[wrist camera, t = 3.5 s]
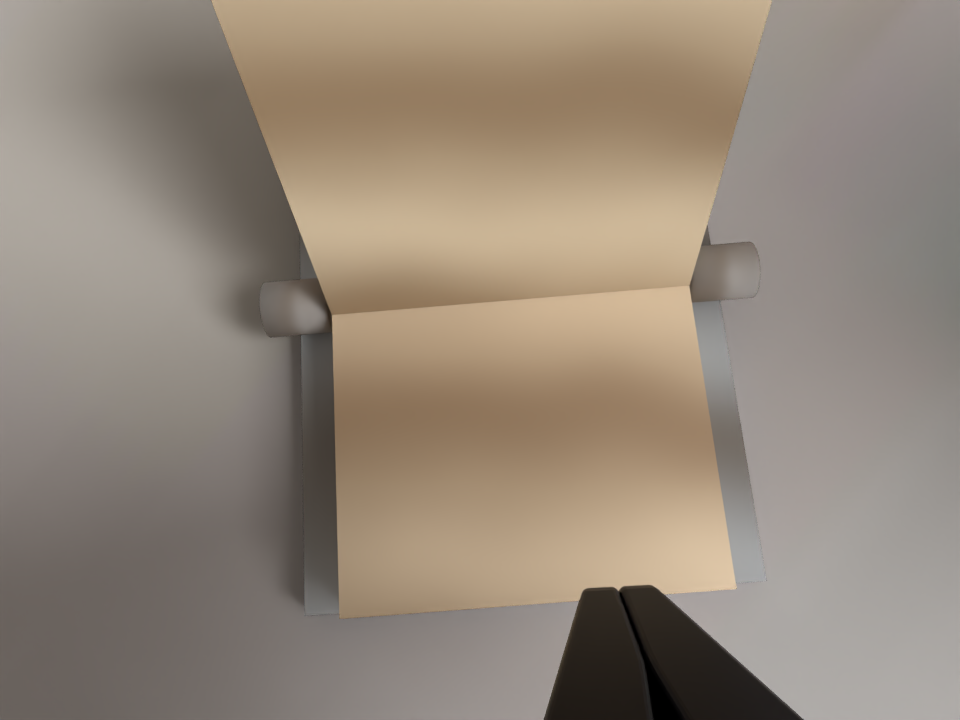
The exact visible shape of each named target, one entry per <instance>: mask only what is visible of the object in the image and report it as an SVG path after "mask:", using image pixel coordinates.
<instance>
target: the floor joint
mask: <svg viewBox="0 0 960 720" xmlns="http://www.w3.org/2000/svg"><path fill="white" fill-rule="evenodd" d="M759 284H760V260H759V256H758V252H757V249H756V247H755V246H754V244H753V243H751V242H741V243H729V244H717V245H711V244H710V238H709V232H708V226H707V227H706V230H705V234H704V237H703V241H702V244H701V248H700V251H699V254H698V258H697V261H696V265H695V268H694V272H693V275H692V279H691V282H690V285H689V286H677V287H665V288H653V289H640V290H628V291H616V292H604V293H592V294H580V295H568V296H556V297H544V298H532V299H520V300H507V301H495V302H483V303H471V304H459V305H447V306H435V307H423V308H411V309H399V310H387V311H375V312H362V313H350V314H338V315H332V314H331V312H330V309H329V307H328V304H327V301H326V299H325V296H324V293H323V291H322V288H321V286H320V283H319V280H318V278H317V275H316V273H315V270H314V267H313V265H312V262H311V260H310V257H309V254H308V252H307V249H306V247H305V244H304V241H303V239H302V236H301V233H300V279H298V280H287V281H275V282H265V283H263V284H262V286H261V290H260V298H259V304H260V314H261V320H262V324H263V327H264V330H265V332H266V334H267V335H268V336H269V337H281V336H293V335H301V378H302V456H303V533H304V611H305V616H313V615H326V614H339V619H346V618H359V617H372V616H386V615H399V614H412V613H425V612H438V611H452V610H465V609H478V608H491V607H505V606H518V605H531V604H544V603H557V602H571V601H579V600H580V597H581V593H582V591H583V590H584V589H586V588H598V587H614V588H616V589H617V590H618V591H619V589H620V588H621V587H623V586H634V585H653V586H654V587H656V588H657V589H659V590H660V591H661V592H662V593H663V594H676V593H690V592H703V591H716V590H729V589H737V588H736V583H748V582H761V581H767V580H766V574H765V568H764V562H763V556H762V550H761V544H760V538H759V532H758V526H757V520H756V514H755V508H754V502H753V496H752V490H751V484H750V478H749V472H748V466H747V460H746V454H745V448H744V442H743V436H742V430H741V424H740V418H739V412H738V406H737V400H736V394H735V388H734V382H733V376H732V370H731V364H730V358H729V352H728V346H727V340H726V334H725V328H724V322H723V316H722V310H721V304H720V300H730V299H743V298H753V297H754V296H755V295H756V294H757V291H758V289H759Z"/></svg>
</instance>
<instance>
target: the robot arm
mask: <svg viewBox="0 0 960 720" xmlns="http://www.w3.org/2000/svg"><path fill="white" fill-rule="evenodd" d="M544 720H804V719H802V718H801V717H800V716H799V715H798V714H797V713H796V712H795V711H794V710H792V709H791V708H790V707H789V706H788V705H787V704H786V703H785V702H783V701H782V700H781V699H780V698H779V697H778V696H777V695H776V694H775V693H773V692H772V691H771V690H770V689H769V688H768V687H767V686H766V685H765V684H763V683H762V682H761V681H760V680H759V679H758V678H757V677H756V676H754V675H753V674H752V673H751V672H750V671H749V670H748V669H747V668H746V667H744V666H743V665H742V664H741V663H740V662H739V661H738V660H737V659H736V658H734V657H733V656H732V655H731V654H730V653H729V652H728V651H727V650H726V649H724V648H723V647H722V646H721V645H720V644H719V643H718V642H717V641H715V640H714V639H713V638H712V637H711V636H710V635H709V634H708V633H707V632H705V631H704V630H703V629H702V628H701V627H700V626H699V625H698V624H697V623H695V622H694V621H693V620H692V619H691V618H690V617H689V616H688V615H686V614H685V613H684V612H683V611H682V610H681V609H680V608H679V607H678V606H676V605H675V604H674V603H673V602H672V601H671V600H670V599H669V598H668V597H666V596H665V595H664V594H663V593H662V592H661V591H660V590H659V589H657V588H656V587H654V586H653V585H634V586H623V587H621V588H620V589H619V591H618V590H617V589H616V588H614V587H598V588H586V589H584V590H583V591H582V593H581V597H580V600H579V603H578V607H577V610H576V613H575V617H574V620H573V623H572V627H571V630H570V633H569V637H568V640H567V643H566V647H565V650H564V653H563V657H562V660H561V663H560V667H559V670H558V674H557V677H556V680H555V684H554V687H553V690H552V694H551V697H550V700H549V704H548V707H547V710H546V714H545V717H544Z"/></svg>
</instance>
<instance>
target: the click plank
mask: <svg viewBox="0 0 960 720" xmlns="http://www.w3.org/2000/svg"><path fill="white" fill-rule="evenodd" d="M211 1H212V4H213V7H214V9H215V12H216V14H217V17H218V20H219V22H220V25H221V27H222V30H223V33H224V35H225V38H226V40H227V43H228V46H229V48H230V51H231V53H232V56H233V59H234V61H235V64H236V67H237V69H238V72H239V74H240V77H241V80H242V82H243V85H244V87H245V90H246V93H247V95H248V98H249V100H250V103H251V106H252V108H253V111H254V113H255V116H256V119H257V121H258V124H259V127H260V129H261V132H262V134H263V137H264V140H265V142H266V145H267V147H268V150H269V153H270V155H271V158H272V160H273V163H274V166H275V168H276V171H277V173H278V176H279V179H280V181H281V184H282V187H283V189H284V192H285V194H286V197H287V200H288V202H289V205H290V207H291V210H292V213H293V215H294V218H295V220H296V223H297V226H298V228H299V231H300V233H301V236H302V239H303V241H304V244H305V247H306V249H307V252H308V254H309V257H310V260H311V262H312V265H313V267H314V270H315V273H316V275H317V278H318V280H319V283H320V286H321V288H322V291H323V293H324V296H325V299H326V301H327V304H328V307H329V309H330V312H331V314H332V315H338V314H350V313H362V312H375V311H387V310H399V309H411V308H423V307H435V306H447V305H459V304H471V303H483V302H495V301H507V300H520V299H532V298H544V297H556V296H568V295H580V294H592V293H604V292H616V291H628V290H640V289H653V288H665V287H677V286H689V285H690V282H691V279H692V275H693V272H694V268H695V265H696V261H697V258H698V254H699V251H700V248H701V244H702V241H703V237H704V234H705V230H706V227H707V223H708V220H709V217H710V213H711V210H712V206H713V203H714V199H715V196H716V192H717V189H718V185H719V182H720V179H721V175H722V172H723V168H724V165H725V161H726V158H727V154H728V151H729V148H730V144H731V141H732V137H733V134H734V130H735V127H736V123H737V120H738V116H739V113H740V110H741V106H742V103H743V99H744V96H745V92H746V89H747V85H748V82H749V79H750V75H751V72H752V68H753V65H754V61H755V58H756V54H757V51H758V47H759V44H760V41H761V37H762V34H763V30H764V27H765V23H766V20H767V16H768V13H769V10H770V6H771V3H772V0H211Z"/></svg>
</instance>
